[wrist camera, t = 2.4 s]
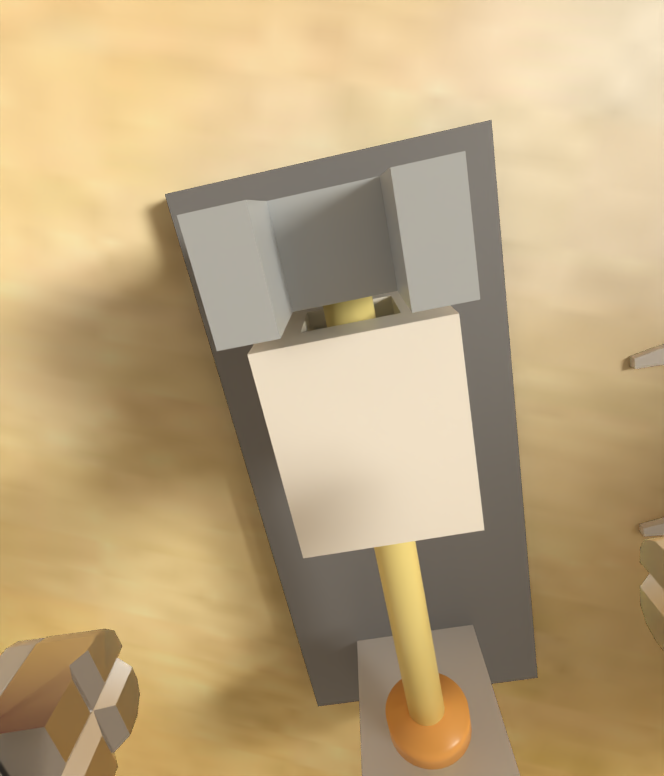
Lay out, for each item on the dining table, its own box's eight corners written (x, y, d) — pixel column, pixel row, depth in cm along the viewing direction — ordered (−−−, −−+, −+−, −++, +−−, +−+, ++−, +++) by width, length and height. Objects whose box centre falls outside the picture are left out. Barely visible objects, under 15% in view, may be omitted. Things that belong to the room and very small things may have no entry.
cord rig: (482, 125, 18) (708, -4, 7) (529, 658, 27) (660, 974, 16) (175, 194, 19) (-57, 179, 8) (319, 686, 28) (304, 1001, 17)
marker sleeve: (424, 281, 16) (458, 313, 11) (446, 445, 18) (484, 530, 13) (274, 312, 16) (247, 354, 12) (312, 468, 18) (303, 558, 14)
